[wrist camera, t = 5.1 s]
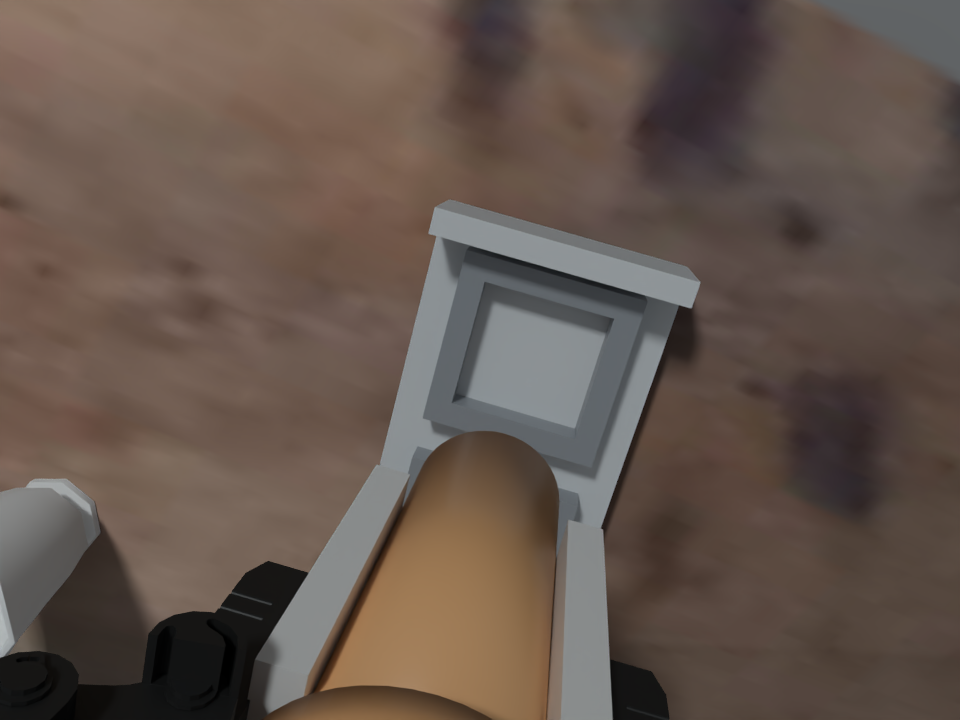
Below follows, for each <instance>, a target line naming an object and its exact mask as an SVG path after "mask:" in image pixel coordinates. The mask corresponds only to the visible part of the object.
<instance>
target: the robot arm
mask: <svg viewBox="0 0 960 720" xmlns="http://www.w3.org/2000/svg"><path fill="white" fill-rule="evenodd" d="M409 477H410V474H407V473H404V472H400V471H397V470H393V469H390V468H386V467H383V466H379V465H376V466H375V468H374V470H373V471H372V473H371V474H370V476H369V478H368V479H367V481H366V482H365V484H364V486H363V487H362V489H361V490H360V492H359V494H358V495H357V497H356V498H355V500H354V502H353V503H352V505H351V506H350V508H349V510H348V511H347V513H346V514H345V516H344V518H343V519H342V521H341V522H340V524H339V526H338V527H337V529H336V530H335V532H334V534H333V535H332V537H331V538H330V540H329V542H328V543H327V545H326V546H325V548H324V550H323V551H322V553H321V554H320V556H319V558H318V559H317V561H316V562H315V564H314V566H313V567H312V569H311V570H310V572H309V573H307V572H304V571H301V570H297V569H294V568H290V567H287V566H284V565H280V564H277V563H273V562H270V561H267V562H265V563H264V564H262V565H260V566H258V567H256V568H254V569H252V570H250V571H249V572H247V573H245V575H244V576H243V577H242V579H241V580H240V581H239V582H238V584H237V585H236V586H235V588H234V589H233V590H232V593H231V594H229V595H228V597H227V598H226V599H225V601H224V602H223V603H222V605H221V607H220V609H219V608H218V610H217V611H216V612H215V613H212V612H197V611H192V612H187V613H182V614H177V615H173V616H171V617H169V618H167V619H165V620H163V621H161V622H159V623H158V624H157V625H156V626H155V628H154V629H153V630H152V631H151V632H150V633H149V635H148V642H147V649H146V657H145V664H144V671H143V678H142V682H141V683H136V684H131V685H117V686H108V685H82V684H78V676H79V674H78V673H77V671H76V669H75V668H74V666H73V664H72V663H71V662H69V661H67V660H66V659H64V658H62V657H61V656H59V655H56V654H51V653H46V652H41V651H34V652H18V653H15V654H11V655H8V656H4V657H1V658H0V720H262V719H263V718H264V717H266V716H267V715H268V714H270V713H271V712H272V711H274V710H276V709H278V708H280V707H281V706H283V705H285V704H287V703H289V702H291V701H293V700H296V699H298V698H301V697H304V696H307V695H309V694H312V693H313V692H314V690H315V688H316V686H317V684H318V682H319V680H320V678H321V676H322V674H323V672H324V670H325V668H326V666H327V663H328V661H329V659H330V657H331V655H332V653H333V651H334V649H335V647H336V645H337V643H338V641H339V639H340V637H341V634H342V632H343V630H344V628H345V626H346V624H347V622H348V620H349V618H350V616H351V614H352V612H353V610H354V608H355V605H356V603H357V601H358V599H359V597H360V595H361V593H362V591H363V589H364V587H365V585H366V583H367V581H368V578H369V576H370V574H371V572H372V570H373V568H374V566H375V564H376V562H377V560H378V558H379V556H380V554H381V552H382V549H383V547H384V545H385V543H386V541H387V539H388V537H389V535H390V533H391V531H392V529H393V527H394V525H395V523H396V520H397V518H398V516H399V514H400V512H401V510H402V506H403V502H404V498H405V494H406V490H407V486H408V482H409ZM546 720H669V712H668V705H667V698H666V694H665V693H664V691H663V689H662V688H661V686H660V684H659V683H658V681H657V680H656V678H655V676H654V675H653V673H652V672H651V671H648V670H644V669H641V668H638V667H634V666H631V665H627V664H624V663H621V662H617V661H614V660H610V658H609V638H608V618H607V598H606V579H605V559H604V539H603V529H600V528H596V527H593V526H589V525H586V524H582V523H579V522H575V521H572V520H568V522H567V526H566V529H565V532H564V535H563V538H562V541H561V544H560V548H559V551H558V554H557V557H556V567H555V583H554V599H553V614H552V630H551V646H550V662H549V678H548V694H547V710H546Z"/></svg>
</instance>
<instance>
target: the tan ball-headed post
mask: <svg viewBox="0 0 960 720" xmlns="http://www.w3.org/2000/svg"><path fill="white" fill-rule="evenodd" d="M559 503H560V500H559V490H558V485H557V482H556V479H555V476H554V474H553V472H552V470H551V468H550V467H549V465H548V464H547V462H546V461H545V459H544V458H543V457H542V456H541V455H540V454H539V453H538V452H537V451H536V450H535V449H533V448H532V447H531V446H530V445H528V444H527V443H525V442H523V441H522V440H520V439H518V438H516V437H513V436H510V435H507V434H504V433H500V432H494V431H473V432H467V433H464V434H460V435H457V436H455V437H453V438H450V439H448V440H447V441H445V442H444V443H442V444H441V445H439V446H438V447H437V448H436V449H435V450H434V451H433V452H432V453H431V454H430V455H429V456H428V458H427V459H426V461H425V462H424V464H423V466H422V468H421V470H420V472H419V474H418V476H417V478H416V480H415V482H414V484H413V486H412V488H411V491H410V493H409V495H408V497H407V499H406V501H405V503H404V505H403V507H402V510H401V512H400V514H399V516H398V518H397V520H396V523H395V525H394V527H393V529H392V531H391V533H390V535H389V537H388V539H387V541H386V543H385V545H384V547H383V549H382V552H381V554H380V556H379V558H378V560H377V562H376V564H375V566H374V568H373V570H372V572H371V574H370V576H369V578H368V581H367V583H366V585H365V587H364V589H363V591H362V593H361V595H360V597H359V599H358V601H357V603H356V605H355V608H354V610H353V612H352V614H351V616H350V618H349V620H348V622H347V624H346V626H345V628H344V630H343V632H342V634H341V637H340V639H339V641H338V643H337V645H336V647H335V649H334V651H333V653H332V655H331V657H330V659H329V661H328V663H327V666H326V668H325V670H324V672H323V674H322V676H321V678H320V680H319V682H318V684H317V686H316V688H315V690H314V692H313V693H312V694H309V695H307V696H304V697H301V698H298V699H296V700H293V701H291V702H289V703H287V704H285V705H283V706H281V707H280V708H278V709H276V710H274V711H272V712H271V713H270V714H268V715H267V716H266V717H264V718H263V719H262V720H546V710H547V694H548V678H549V662H550V646H551V630H552V614H553V599H554V583H555V567H556V551H557V535H558V519H559Z"/></svg>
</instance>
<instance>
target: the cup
mask: <svg viewBox="0 0 960 720" xmlns="http://www.w3.org/2000/svg"><path fill="white" fill-rule="evenodd" d="M100 533H101V532H100V527H99V522H98V517H97V512H96V507H95V502H94V501H93V500H92V499H91V498H90V497H88V496H87V495H86V494H85V493H83V492H82V491H81V490H80V489H79V488H77V487H76V486H75V485H74V484H72V483H71V482H70V481H69V480H68V479H34V480H32V481H31V482H29V484H28V485H27V486H26V487H25V488H14V489H11V490H7V491H3V492H0V658H1V657H4V656H7V655H8V654H9V653H10V652H11V650H12V649H13V647H14V646H15V644H16V642H17V641H18V639H19V638H20V636H21V635H22V634H23V633H24V632H25V630H26V629H27V628H28V627H29V625H30V624H31V623H32V622H33V620H34V619H35V618H36V617H37V615H38V614H39V613H40V611H41V610H42V609H43V608H44V606H45V605H46V604H47V603H48V601H49V600H50V599H51V598H52V596H53V595H54V594H55V593H56V592H57V590H58V589H59V588H60V587H61V586H62V584H63V583H64V582H65V581H66V580H67V578H68V577H69V576H70V575H71V573H72V572H73V570H74V569H75V567H76V565H77V564H78V562H79V560H80V559H81V557H82V555H83V554H84V552H85V551H86V550H87V549H88V547H89V546H90V545H91V544H92V543H93V541H94V540H95V539H96V538H97V537H98V536H99V534H100Z"/></svg>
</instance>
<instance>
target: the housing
mask: <svg viewBox="0 0 960 720" xmlns="http://www.w3.org/2000/svg"><path fill="white" fill-rule="evenodd" d="M429 234H432V235H435V236H437V237H436V241H435V245H434V249H433V253H432V257H431V261H430V265H429V269H428V273H427V277H426V281H425V285H424V289H423V293H422V297H421V301H420V305H419V309H418V313H417V317H416V321H415V325H414V329H413V333H412V337H411V341H410V345H409V349H408V353H407V357H406V361H405V365H404V370H403V374H402V378H401V382H400V386H399V390H398V394H397V398H396V402H395V406H394V410H393V414H392V418H391V422H390V426H389V430H388V434H387V438H386V442H385V446H384V450H383V454H382V458H381V462H380V466H383V467H386V468H390V469H393V470H397V471H400V472H404V473H407V474H410V477H409V482H408V486H407V490H406V494H405V498H404V502H403V505H404V503H405V501H406V499H407V497H408V495H409V493H410V491H411V488H412V486H413V484H414V482H415V480H416V478H417V476H418V474H419V472H420V470H421V468H422V466H423V464H424V462H425V461H426V459H427V458H428V456H429V455H430V454H431V453H432V452H433V451H434V450H435V449H436V448H437V447H438V446H439V445H441V444H442V443H444V442H445V441H447V440H448V439H450V438H453V437H455V436H457V435H460V434H464V433H467V432H473V431H494V432H500V433H504V434H507V435H510V436H513V437H516V438H518V439H520V440H522V441H523V442H525V443H527V444H528V445H530V446H531V447H532V448H533V449H535V450H536V451H537V452H538V453H539V454H540V455H541V456H542V457H543V458H544V459H545V461H546V462H547V464H548V465H549V467H550V468H551V470H552V472H553V474H554V476H555V479H556V482H557V485H558V490H559V500H560V503H559V519H558V535H557V551H556V557H557V554H558V551H559V548H560V544H561V541H562V538H563V535H564V532H565V529H566V526H567V522H568V520H572V521H575V522H579V523H582V524H586V525H589V526H593V527H596V528H600V529H601V526H602V523H603V520H604V517H605V514H606V512H607V509H608V506H609V503H610V500H611V497H612V495H613V492H614V489H615V486H616V483H617V480H618V478H619V475H620V472H621V469H622V466H623V463H624V460H625V458H626V455H627V452H628V449H629V446H630V443H631V441H632V438H633V435H634V432H635V429H636V426H637V424H638V421H639V418H640V415H641V412H642V409H643V407H644V404H645V401H646V398H647V395H648V392H649V390H650V387H651V384H652V381H653V378H654V375H655V373H656V370H657V367H658V364H659V361H660V358H661V355H662V353H663V350H664V347H665V344H666V341H667V338H668V336H669V333H670V330H671V327H672V324H673V321H674V319H675V316H676V313H677V310H678V307H679V305H681V306H684V307H688V308H692V305H693V303H694V300H695V297H696V294H697V291H698V289H699V286H700V283H701V282H700V281H699V280H698V279H697V278H696V277H695V275H694V274H693V273H692V272H691V271H690V270H689V268H688V267H687V266H683V265H680V264H676V263H673V262H669V261H666V260H662V259H659V258H655V257H652V256H648V255H645V254H641V253H637V252H634V251H630V250H627V249H623V248H620V247H616V246H613V245H609V244H606V243H602V242H599V241H595V240H592V239H588V238H585V237H581V236H577V235H574V234H570V233H567V232H563V231H560V230H556V229H553V228H549V227H546V226H542V225H539V224H535V223H532V222H528V221H525V220H521V219H517V218H514V217H510V216H507V215H503V214H500V213H496V212H493V211H489V210H486V209H482V208H479V207H475V206H472V205H468V204H465V203H461V202H457V201H454V200H450V199H449V200H448V201H446V202H444V203H442V204H440V205H438V206H436V207H435V209H434V213H433V217H432V221H431V225H430V229H429ZM402 507H403V506H402Z"/></svg>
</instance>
